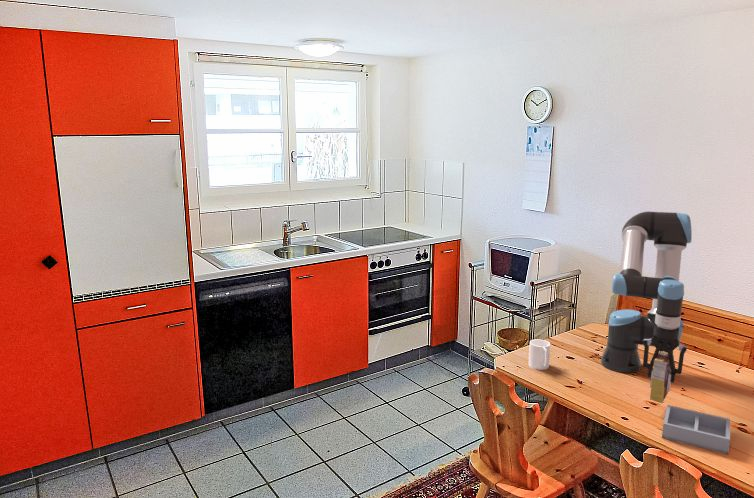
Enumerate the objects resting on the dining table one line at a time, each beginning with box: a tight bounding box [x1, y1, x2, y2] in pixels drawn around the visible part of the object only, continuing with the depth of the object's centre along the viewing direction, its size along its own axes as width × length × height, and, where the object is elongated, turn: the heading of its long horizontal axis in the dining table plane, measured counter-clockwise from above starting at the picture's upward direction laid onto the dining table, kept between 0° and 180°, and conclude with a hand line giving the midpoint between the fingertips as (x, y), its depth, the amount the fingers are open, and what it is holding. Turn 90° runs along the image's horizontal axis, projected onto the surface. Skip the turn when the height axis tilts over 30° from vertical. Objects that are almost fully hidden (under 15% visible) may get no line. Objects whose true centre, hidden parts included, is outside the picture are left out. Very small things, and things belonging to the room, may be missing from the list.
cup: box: [528, 338, 551, 371], centre depth 227 cm, size 8×12×10 cm
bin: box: [661, 404, 731, 455], centre depth 177 cm, size 18×14×5 cm
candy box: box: [649, 351, 671, 404], centre depth 191 cm, size 9×4×15 cm, turn 141°
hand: (659, 387), depth 192 cm, fingers closed on candy box, 4 cm apart
